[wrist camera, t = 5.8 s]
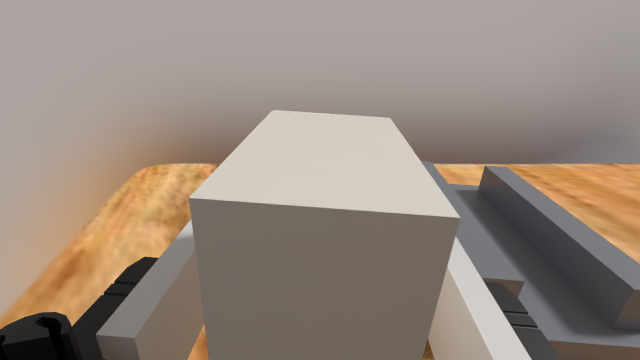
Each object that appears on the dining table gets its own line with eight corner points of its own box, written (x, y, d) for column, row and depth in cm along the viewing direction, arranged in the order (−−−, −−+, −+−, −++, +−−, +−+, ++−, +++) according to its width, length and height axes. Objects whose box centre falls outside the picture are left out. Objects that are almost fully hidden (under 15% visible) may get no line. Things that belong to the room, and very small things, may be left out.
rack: (505, 201, 32) (517, 164, 30) (688, 374, 15) (737, 312, 14) (385, 193, 32) (391, 155, 30) (437, 353, 15) (456, 290, 14)
